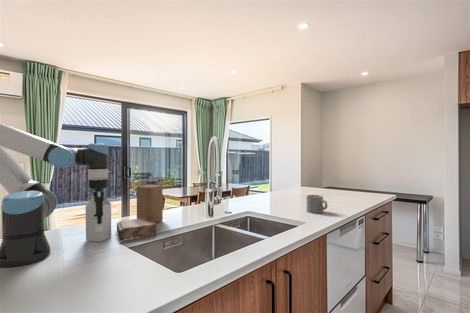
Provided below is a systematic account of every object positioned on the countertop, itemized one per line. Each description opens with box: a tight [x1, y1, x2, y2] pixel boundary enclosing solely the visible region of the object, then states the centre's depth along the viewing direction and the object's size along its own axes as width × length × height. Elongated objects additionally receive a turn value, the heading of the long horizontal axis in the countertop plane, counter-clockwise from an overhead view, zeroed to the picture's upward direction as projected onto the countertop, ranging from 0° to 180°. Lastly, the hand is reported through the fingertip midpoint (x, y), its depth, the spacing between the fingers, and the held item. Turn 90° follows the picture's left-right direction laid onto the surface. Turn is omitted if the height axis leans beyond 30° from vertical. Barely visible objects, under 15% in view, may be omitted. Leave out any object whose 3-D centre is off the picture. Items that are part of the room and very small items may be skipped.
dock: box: [116, 217, 157, 241], centre depth 121 cm, size 15×14×5 cm
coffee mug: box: [306, 194, 328, 214], centre depth 163 cm, size 13×10×10 cm
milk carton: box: [85, 195, 112, 243], centre depth 113 cm, size 7×7×19 cm
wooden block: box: [136, 184, 164, 224], centre depth 139 cm, size 10×10×20 cm
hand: (98, 227), depth 113 cm, fingers open, 13 cm apart
